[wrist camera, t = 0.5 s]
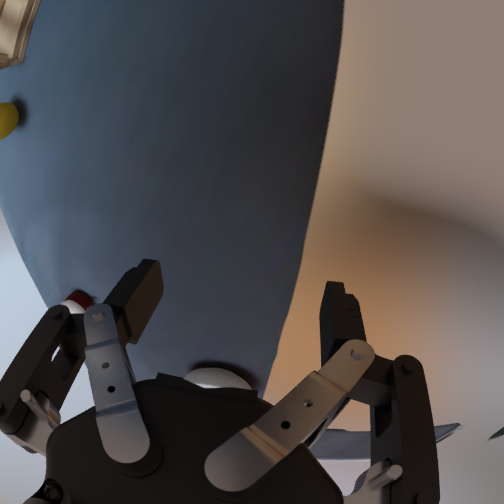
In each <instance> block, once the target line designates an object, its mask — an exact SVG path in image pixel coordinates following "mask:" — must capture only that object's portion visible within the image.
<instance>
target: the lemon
mask: <svg viewBox="0 0 504 504" xmlns="http://www.w3.org/2000/svg"><path fill="white" fill-rule="evenodd" d="M18 119H19V112H18V110H17V108H16V107H15V106H14V105H13V104H11V103H1V104H0V140H1V139H3V138H5V137H7V136H8V135H9V134H11V132H12V131H13V130H14V129H15V127H16V125H17V123H18Z"/></svg>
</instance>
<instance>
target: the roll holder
mask: <svg viewBox="0 0 504 504" xmlns="http://www.w3.org/2000/svg"><path fill="white" fill-rule="evenodd" d="M40 1H41V0H0V69H3V68H6V67H10V66H13V65H16V64H20V63H23V59H24V54H25V50H26V46H27V42H28V39H29V35H30V32H31V28H32V25H33V22H34V19H35V16H36V13H37V10H38V7H39V4H40Z"/></svg>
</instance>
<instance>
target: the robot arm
mask: <svg viewBox="0 0 504 504" xmlns="http://www.w3.org/2000/svg"><path fill="white" fill-rule="evenodd" d="M163 289H164V286H163V279H162V273H161V266H160V262H159V261H158V260H151V259H143V260H142V261H141V263H140V264H139V265H138V267H137V268H136V267H133V268H132V269H130V270H129V271H127V272H126V273H125V274H124V275H123V276H122V278H121V280H119V282H118V283H117V284H116V286H115V287H114V288H113V290H112V291H111V292H110V294H109V295H108V296H107V298H106V299H105V301H104V302H103V303H99V304H95V305H92V306H91V307H89V308H88V309H87V310H86V311H85V313H74V314H71V313H70V310H69V308H68V307H67V306H66V305H55V306H53V307H51V308H50V309H48V311H47V312H46V313H45V315H44V316H43V317H42V318H41V320H40V321H39V323H38V324H37V325H36V327H35V328H34V330H33V331H32V333H31V334H30V335H29V337H28V338H27V340H26V341H25V343H24V344H23V346H22V347H21V349H20V351H19V352H18V353H17V355H16V356H15V358H14V360H13V361H12V363H11V364H10V366H9V367H8V369H7V371H6V372H5V374H4V376H3V378H2V379H1V381H0V430H1V431H2V432H3V433H4V434H5V435H6V436H8V437H9V438H10V439H11V440H13V441H14V442H15V443H16V444H18V445H20V446H21V447H22V448H24V449H25V450H26V451H28V452H30V453H40V454H42V455H44V456H46V475H45V480H44V483H43V485H42V486H41V487H40V489H39V490H38V491H37V492H36V493H35V494H34V495H33V496H31V497H30V498H29V499H27V500H26V501H25V502H24V503H23V504H439V501H440V486H439V470H438V458H437V448H436V439H435V432H434V425H433V418H432V412H431V406H430V400H429V395H428V389H427V384H426V380H425V375H424V370H423V366H422V364H421V363H420V362H419V360H417V359H416V358H415V357H413V356H410V355H400V356H399V357H397V358H396V359H395V360H394V361H393V360H389V359H386V358H383V357H380V356H378V355H376V354H375V352H374V350H373V348H372V347H371V345H369V344H368V343H367V341H366V335H365V331H364V325H363V320H362V315H361V312H360V306H359V302H358V300H357V299H356V298H355V296H354V295H353V294H346V293H345V288H344V283H343V282H334V281H327V283H326V287H325V291H324V295H323V299H322V303H321V308H320V317H319V318H320V319H319V320H320V340H321V369H320V370H319V371H318V372H316V371H312V372H311V373H310V374H309V375H307V377H305V378H304V379H303V380H302V381H301V382H300V383H299V384H298V385H297V386H296V387H295V388H294V389H293V390H291V391H290V392H289V393H288V394H287V395H286V396H285V397H284V398H283V399H282V400H280V401H279V402H278V403H277V404H276V405H275V406H273V405H272V404H270V403H269V402H267V401H265V400H263V399H260V398H257V395H258V390H250V389H243V388H236V387H222V388H204V387H201V386H199V385H196V384H194V383H192V382H190V381H188V380H185V379H183V378H181V377H176V376H172V375H167V374H163V373H159V372H158V374H157V377H156V379H148V380H143V381H139V382H136V379H135V376H134V373H133V370H132V367H131V364H130V361H129V357H128V354H127V351H126V348H125V347H126V345H127V343H132V344H137V342H138V340H139V338H140V336H141V334H142V333H143V331H144V329H145V327H146V325H147V323H148V321H149V320H150V318H151V316H152V314H153V312H154V310H155V309H156V307H157V305H158V303H159V301H160V300H161V298H162V295H163ZM58 346H59V347H60V349H59V351H58V352H57V354H56V356H55V358H54V359H53V361H51V360H52V356H53V354H54V352H55V350H56V349H57V347H58ZM85 359H86V362H87V368H88V374H89V379H90V384H91V389H92V394H93V399H94V403H95V406H93V407H91V408H90V409H88V410H86V411H84V412H82V413H81V414H79V415H77V416H75V417H73V418H71V419H70V420H68V421H66V422H64V423H62V424H60V422H61V416H60V413H59V411H60V409H61V407H62V404H63V402H64V400H65V398H66V396H67V394H68V392H69V390H70V388H71V386H72V384H73V382H74V380H75V378H76V376H77V374H78V372H79V370H80V368H81V366H82V364H83V362H84V360H85ZM351 399H353V400H356V401H359V402H362V403H365V404H369V405H370V423H371V467H370V468H369V469H368V470H366V471H365V472H364V473H363V474H361V475H360V476H359V477H358V479H357V480H356V483H355V487H354V490H353V492H352V493H351V494H350V495H348V496H343V495H342V492H341V490H340V488H339V487H338V485H337V484H336V483H335V482H334V481H333V479H332V478H331V477H330V476H329V474H328V473H327V472H326V471H325V469H324V468H323V467H322V466H321V464H320V463H319V462H318V460H317V459H316V458H315V457H314V455H313V454H312V453H311V451H310V450H309V448H310V447H311V446H312V445H313V444H314V443H315V442H316V441H317V440H318V438H319V437H320V436H321V435H322V434H323V432H324V431H325V430H326V429H327V427H328V426H329V425H330V424H331V423H332V421H333V420H334V419H335V418H336V417H337V416H338V414H339V413H340V412H341V411H342V410H343V409H344V407H345V406H346V405H347V404H348V403H349V401H350V400H351Z"/></svg>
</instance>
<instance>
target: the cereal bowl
mask: <svg viewBox="0 0 504 504" xmlns="http://www.w3.org/2000/svg"><path fill="white" fill-rule="evenodd" d="M184 379H185V380H188V381H190V382H192V383H194V384H196V385H199V386H201V387H204V388H222V387H236V388H243V389H250V390H252V389H251V387H250V386H249V384H248V383H247V382H246V381H245V380H244V379H242V378H241V377H239V376H237V375H235V374H234V373H233V372H231V371H228V370H225V369H221V368H200V369H196V370H193V371H191V372H190V373H188V374H187V375H186V376H185V378H184Z"/></svg>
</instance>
